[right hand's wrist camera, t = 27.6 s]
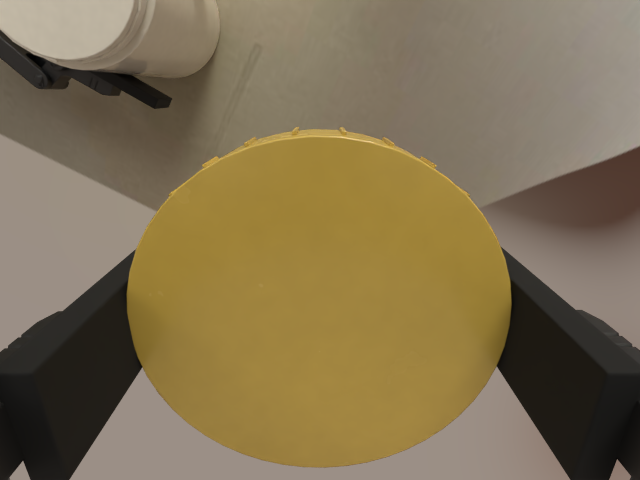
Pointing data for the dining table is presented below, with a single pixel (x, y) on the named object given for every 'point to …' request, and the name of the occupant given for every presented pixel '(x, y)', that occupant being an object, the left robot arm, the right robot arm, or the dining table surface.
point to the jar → (116, 34)
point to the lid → (319, 299)
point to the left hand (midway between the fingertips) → (189, 39)
